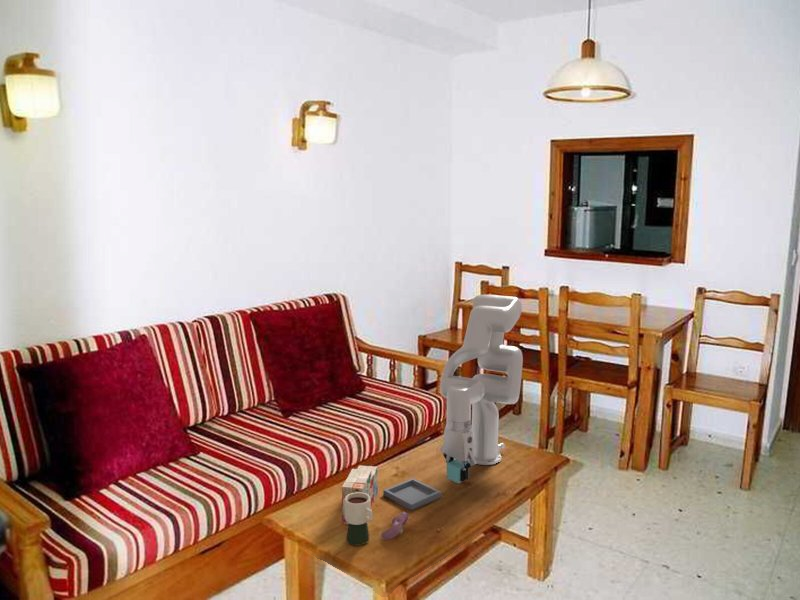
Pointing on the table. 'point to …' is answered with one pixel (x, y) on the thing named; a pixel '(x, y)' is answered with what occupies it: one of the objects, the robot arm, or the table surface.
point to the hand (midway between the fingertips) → (457, 476)
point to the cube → (454, 470)
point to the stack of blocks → (360, 484)
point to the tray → (412, 494)
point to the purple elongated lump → (396, 526)
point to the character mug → (357, 517)
